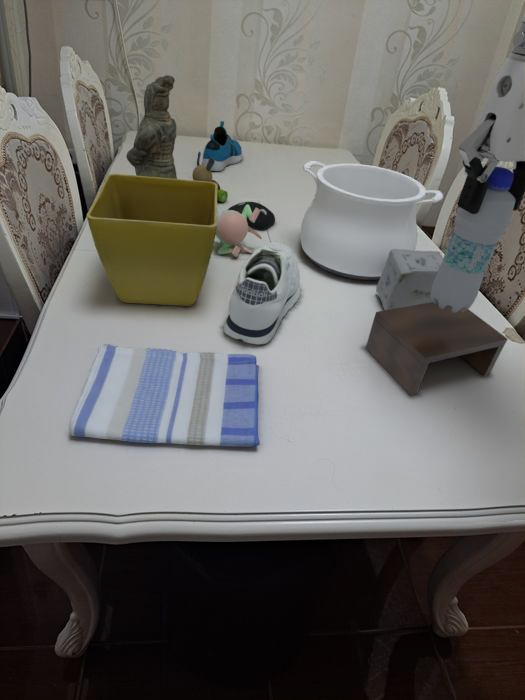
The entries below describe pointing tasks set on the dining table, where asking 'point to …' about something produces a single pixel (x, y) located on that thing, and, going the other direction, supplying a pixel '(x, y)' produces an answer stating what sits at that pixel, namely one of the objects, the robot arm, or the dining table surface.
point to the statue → (155, 133)
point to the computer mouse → (264, 217)
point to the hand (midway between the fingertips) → (487, 207)
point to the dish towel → (169, 398)
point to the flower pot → (155, 236)
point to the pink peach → (235, 229)
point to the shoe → (222, 149)
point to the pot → (360, 218)
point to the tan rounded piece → (208, 177)
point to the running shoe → (263, 293)
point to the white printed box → (408, 278)
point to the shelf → (430, 341)
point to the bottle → (474, 245)
